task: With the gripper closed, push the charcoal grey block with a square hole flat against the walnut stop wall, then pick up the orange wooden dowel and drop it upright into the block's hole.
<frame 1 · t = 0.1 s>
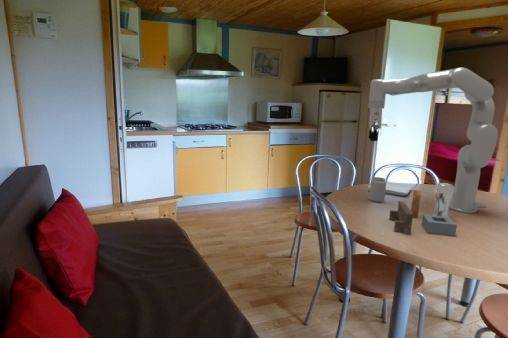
hand: (372, 139, 173), 31 cm above the table, tool pointing down, fingers open, 9 cm apart
dowel: (413, 216, 155), on the table
can: (376, 201, 178), on the table
beer glass: (440, 217, 156), on the table
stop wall: (403, 226, 142), on the table
hole block: (437, 229, 139), on the table
salad plate: (390, 191, 200), on the table
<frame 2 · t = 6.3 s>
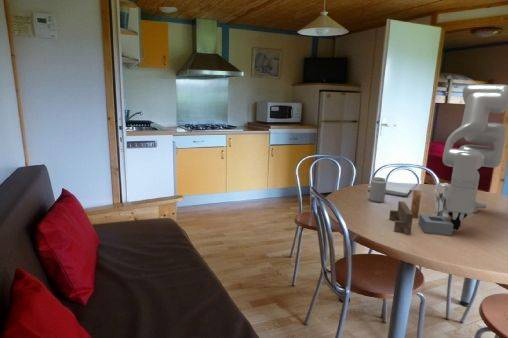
hand: (454, 228, 137), 1 cm above the table, tool pointing down, fingers closed
hole block: (434, 229, 139), on the table, touching gripper
everything else where it was.
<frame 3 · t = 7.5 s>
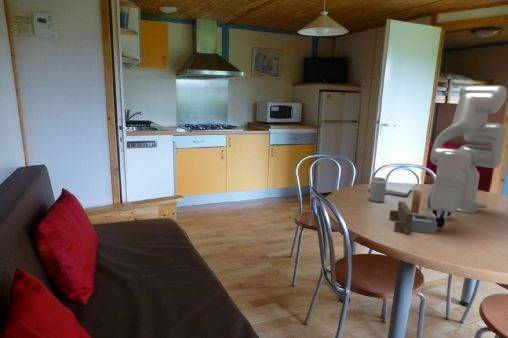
hand: (439, 226, 139), 1 cm above the table, tool pointing down, fingers closed
hole block: (419, 227, 141), on the table, touching gripper, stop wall
everything else where it was.
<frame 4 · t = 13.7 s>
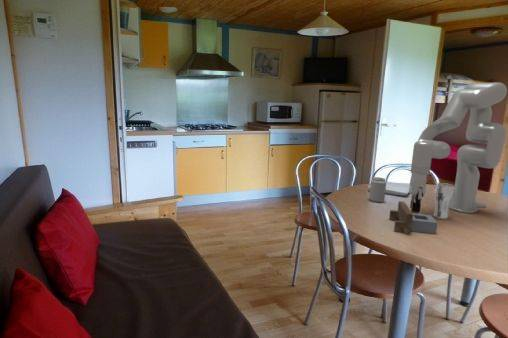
hand: (414, 209, 154), 3 cm above the table, tool pointing down, fingers closed on dowel, 3 cm apart
dowel: (413, 216, 155), on the table, touching gripper
hole block: (419, 227, 141), on the table
everything else where it was.
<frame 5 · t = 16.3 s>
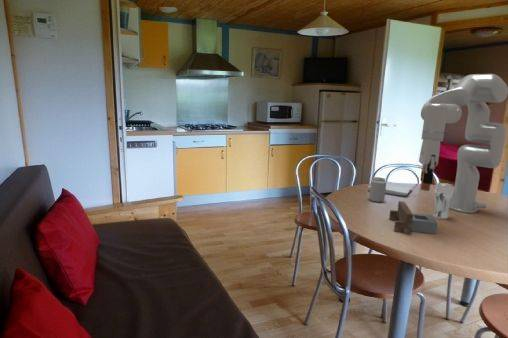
hand: (426, 181, 137), 19 cm above the table, tool pointing down, fingers closed on dowel, 3 cm apart
dowel: (424, 189, 137), point 16 cm above the table, touching gripper
everything else where it was.
when the fingers open (6 cm above the table, at t = 19.1 s): dowel drops 2 cm, resting in hole block.
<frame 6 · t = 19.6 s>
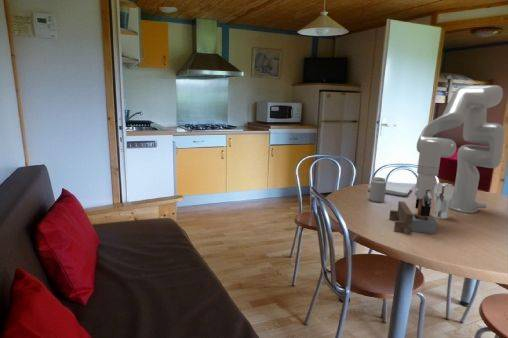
hand: (422, 212, 139), 7 cm above the table, tool pointing down, fingers open, 9 cm apart
dowel: (419, 227, 141), resting in hole block
everything else where it was.
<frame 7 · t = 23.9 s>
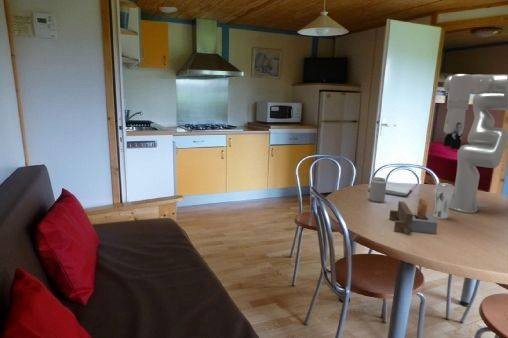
hand: (451, 147, 143), 32 cm above the table, tool pointing down, fingers open, 9 cm apart
nothing on the table moved.
at the end: dowel 0.2 cm off-centre on the hole block, point 0.0 cm above the hole block's base; dowel tilted 0°; hole block 0.1 cm from the target spot, on the table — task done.
